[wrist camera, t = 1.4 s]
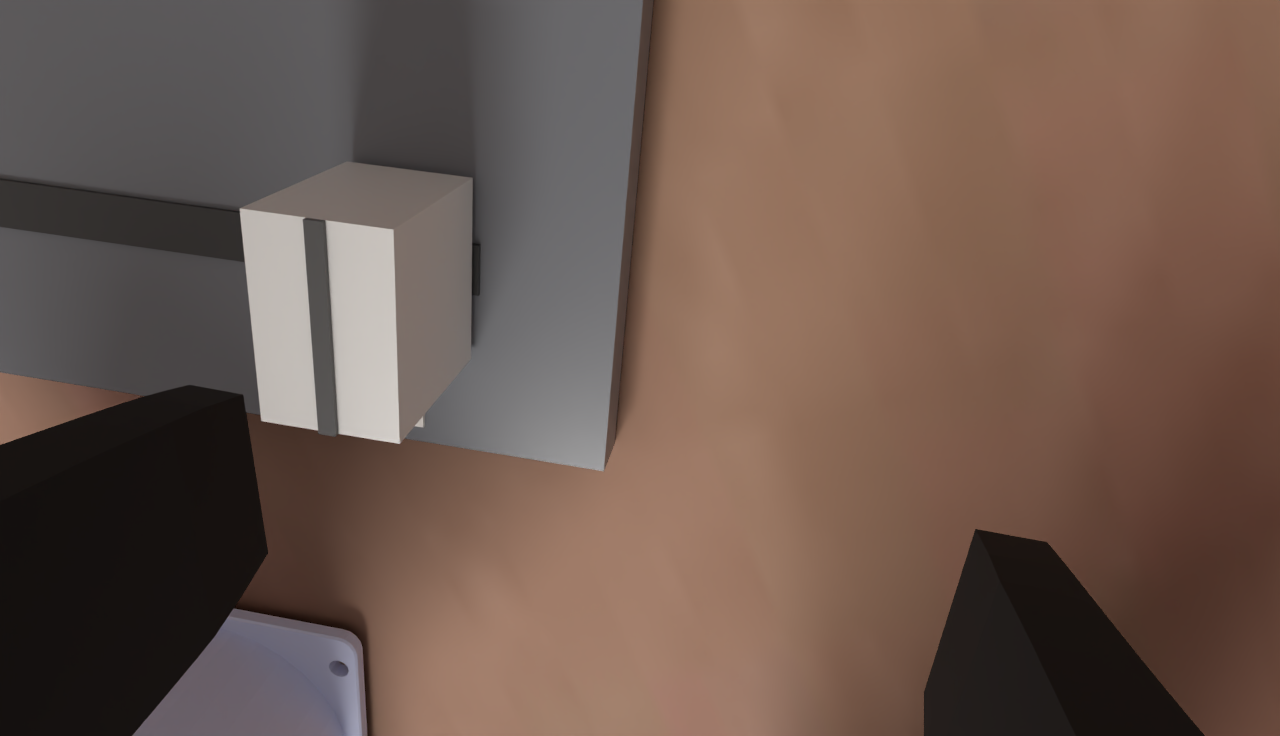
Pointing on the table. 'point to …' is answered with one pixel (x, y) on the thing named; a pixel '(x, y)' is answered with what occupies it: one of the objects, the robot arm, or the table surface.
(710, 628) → the table surface
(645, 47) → the console
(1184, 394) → the table surface
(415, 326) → the block
